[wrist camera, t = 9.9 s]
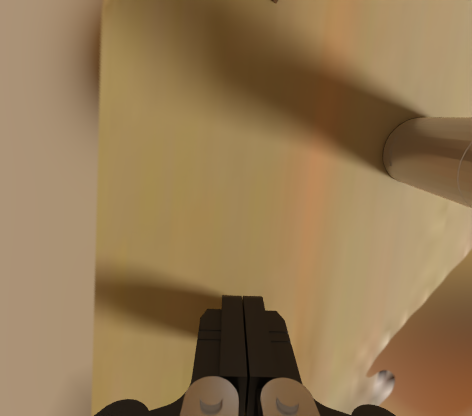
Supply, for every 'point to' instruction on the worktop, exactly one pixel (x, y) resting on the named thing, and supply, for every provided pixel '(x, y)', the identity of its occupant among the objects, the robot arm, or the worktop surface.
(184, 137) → the worktop surface
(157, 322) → the worktop surface
